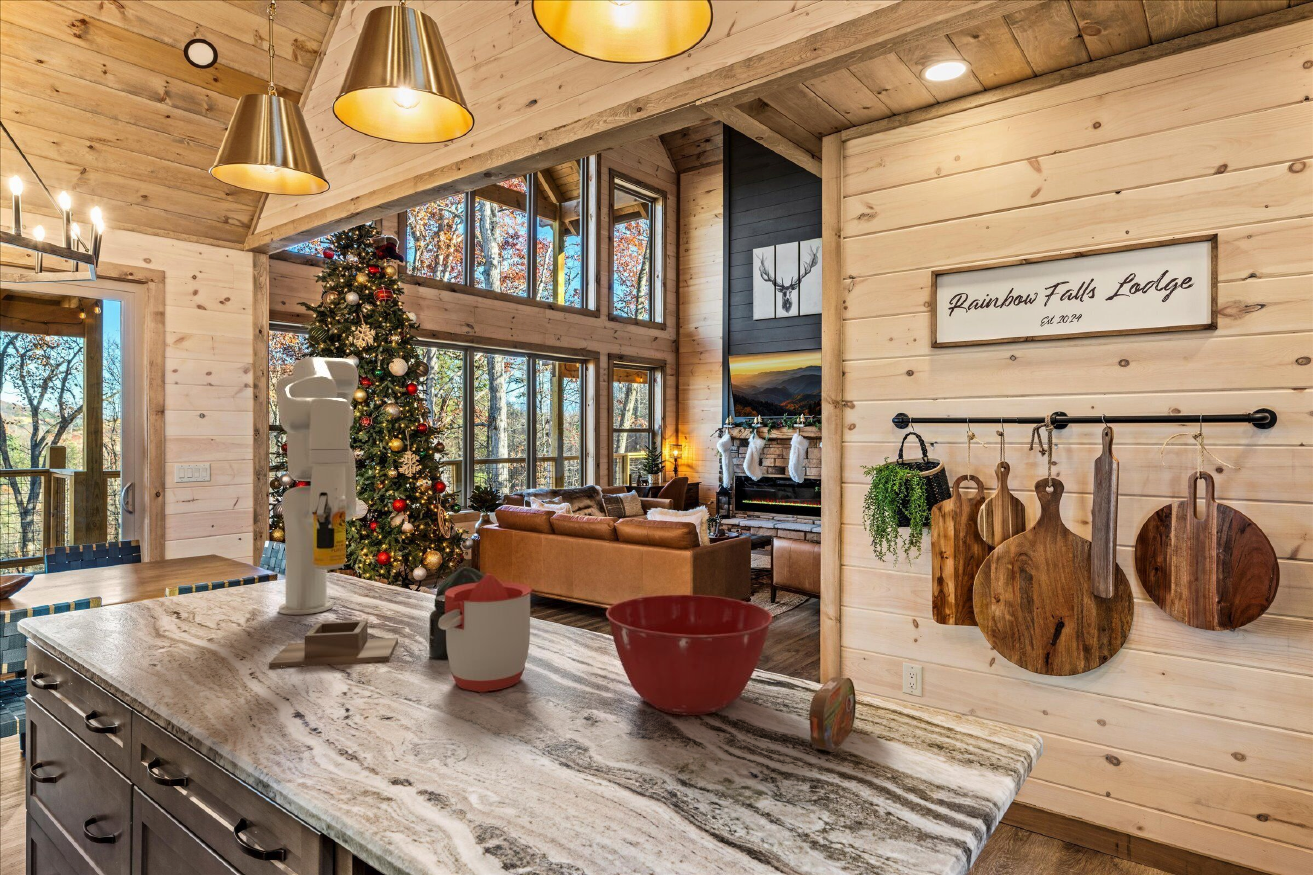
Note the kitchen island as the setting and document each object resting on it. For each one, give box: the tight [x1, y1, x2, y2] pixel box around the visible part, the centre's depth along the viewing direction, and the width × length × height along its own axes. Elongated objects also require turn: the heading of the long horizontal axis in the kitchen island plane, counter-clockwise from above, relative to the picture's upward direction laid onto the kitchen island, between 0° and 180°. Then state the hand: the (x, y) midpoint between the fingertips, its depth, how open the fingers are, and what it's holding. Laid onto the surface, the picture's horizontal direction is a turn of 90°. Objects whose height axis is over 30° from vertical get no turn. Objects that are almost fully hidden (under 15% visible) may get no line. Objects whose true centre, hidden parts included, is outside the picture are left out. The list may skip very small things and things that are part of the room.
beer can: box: [313, 494, 347, 571], centre depth 147 cm, size 6×6×15 cm
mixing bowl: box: [605, 594, 773, 716], centre depth 123 cm, size 28×28×16 cm
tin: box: [808, 676, 857, 753], centre depth 108 cm, size 15×3×8 cm, turn 148°
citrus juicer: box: [438, 573, 533, 693], centre depth 131 cm, size 16×17×20 cm
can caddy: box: [268, 619, 399, 668], centre depth 147 cm, size 13×22×6 cm, turn 102°
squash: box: [434, 566, 486, 610], centre depth 170 cm, size 14×15×15 cm
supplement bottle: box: [428, 595, 449, 661], centre depth 147 cm, size 7×7×12 cm
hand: (329, 544), depth 147 cm, fingers closed on beer can, 6 cm apart
